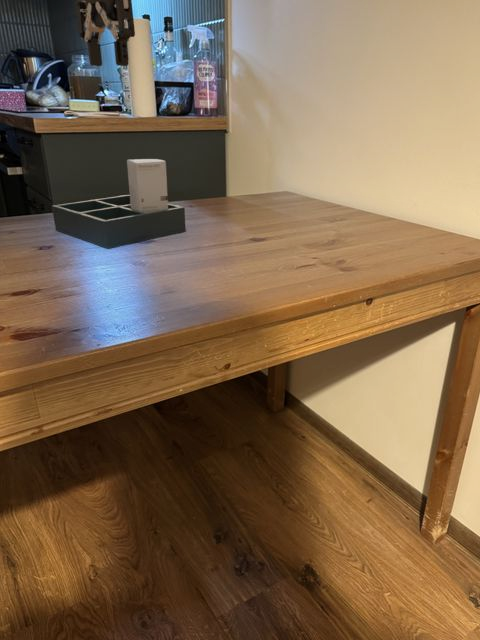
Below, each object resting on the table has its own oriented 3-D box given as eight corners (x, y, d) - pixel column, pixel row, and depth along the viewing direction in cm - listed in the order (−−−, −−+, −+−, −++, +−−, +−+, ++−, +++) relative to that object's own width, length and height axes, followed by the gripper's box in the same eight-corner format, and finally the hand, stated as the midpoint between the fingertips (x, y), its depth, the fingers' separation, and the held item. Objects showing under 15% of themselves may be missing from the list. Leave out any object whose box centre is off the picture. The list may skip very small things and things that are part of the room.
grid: (55, 230, 95) (51, 205, 93) (132, 216, 106) (130, 194, 104) (107, 248, 85) (104, 221, 83) (185, 231, 96) (184, 207, 94)
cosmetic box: (140, 231, 92) (134, 162, 87) (131, 226, 96) (124, 159, 90) (171, 227, 96) (167, 160, 90) (160, 222, 99) (156, 157, 93)
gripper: (56, -42, 87) (70, 65, 94) (102, -55, 78) (113, 64, 86) (94, -34, 92) (105, 67, 99) (141, -45, 83) (149, 66, 91)
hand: (109, 65), depth 92 cm, fingers open, 8 cm apart
